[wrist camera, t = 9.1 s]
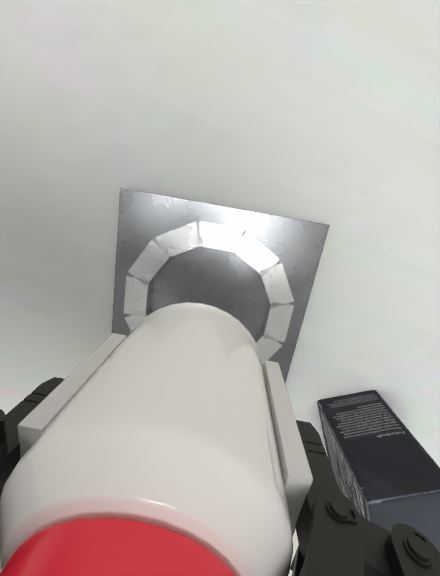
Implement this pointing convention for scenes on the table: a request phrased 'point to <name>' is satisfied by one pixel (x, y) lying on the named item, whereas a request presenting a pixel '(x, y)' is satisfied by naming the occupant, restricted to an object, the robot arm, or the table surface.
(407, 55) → the table surface
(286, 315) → the ring seat
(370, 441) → the small box
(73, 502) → the pill bottle
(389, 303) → the table surface
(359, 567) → the robot arm
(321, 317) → the table surface
